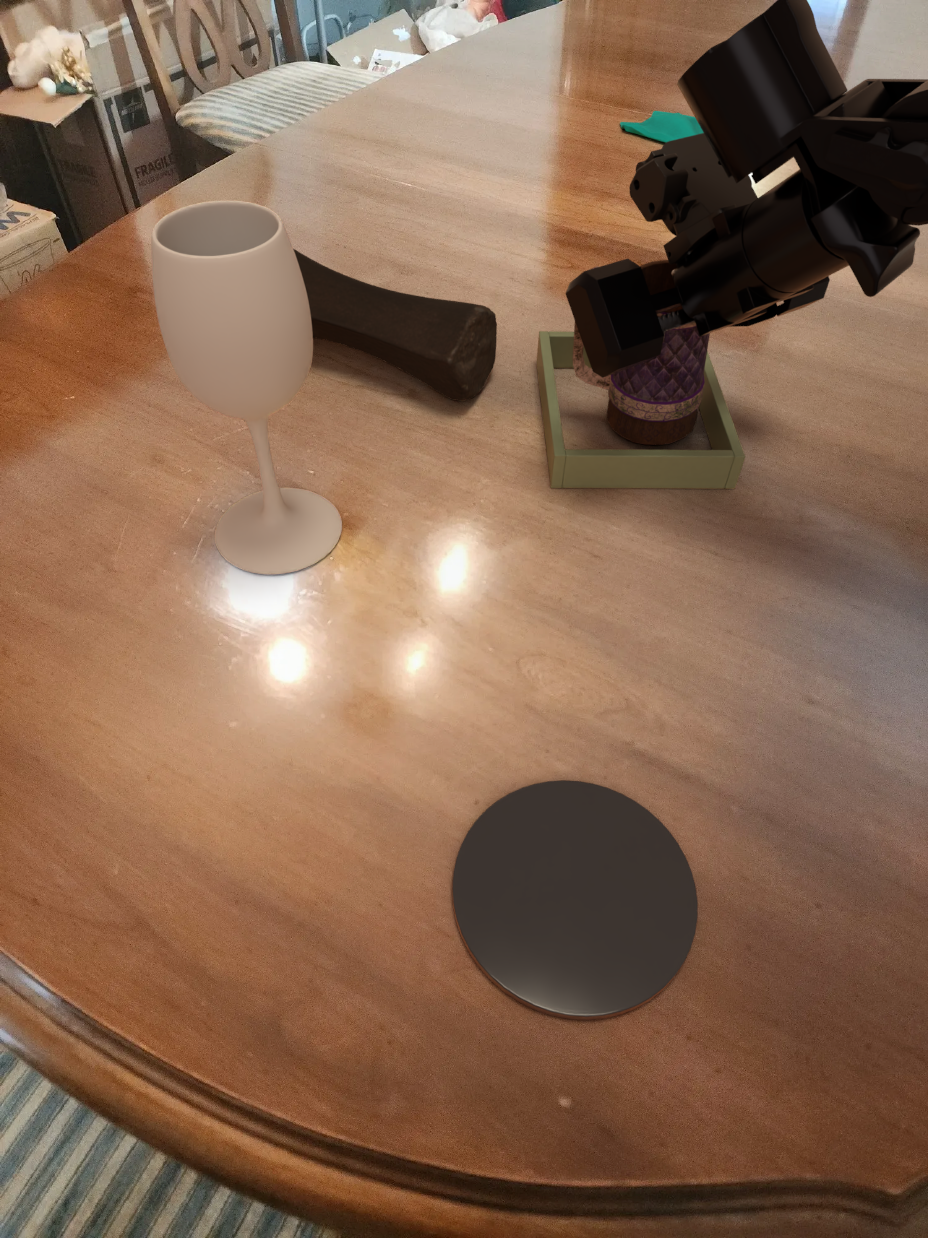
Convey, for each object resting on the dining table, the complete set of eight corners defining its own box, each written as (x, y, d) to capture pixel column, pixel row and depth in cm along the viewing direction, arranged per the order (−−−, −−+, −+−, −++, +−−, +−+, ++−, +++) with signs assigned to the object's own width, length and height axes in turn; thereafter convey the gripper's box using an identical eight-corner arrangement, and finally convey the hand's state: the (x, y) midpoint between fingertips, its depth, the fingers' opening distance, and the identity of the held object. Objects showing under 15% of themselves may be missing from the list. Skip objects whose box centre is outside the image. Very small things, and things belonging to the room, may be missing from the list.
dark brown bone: (188, 345, 78) (464, 456, 73) (134, 276, 68) (451, 399, 63) (243, 247, 80) (516, 349, 75) (199, 165, 70) (512, 277, 65)
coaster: (673, 785, 46) (675, 779, 46) (718, 1020, 38) (721, 1016, 38) (452, 785, 46) (452, 779, 46) (451, 1021, 38) (452, 1017, 38)
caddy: (693, 363, 74) (701, 332, 71) (735, 489, 63) (746, 456, 60) (536, 362, 73) (538, 330, 71) (550, 488, 62) (554, 455, 60)
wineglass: (345, 489, 62) (310, 190, 46) (338, 575, 56) (295, 267, 41) (225, 490, 62) (148, 190, 46) (205, 577, 56) (110, 268, 40)
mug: (702, 401, 68) (731, 255, 59) (689, 455, 64) (719, 307, 55) (577, 383, 71) (587, 240, 62) (557, 434, 66) (564, 289, 57)
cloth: (613, 147, 105) (615, 127, 103) (624, 108, 114) (626, 89, 112) (831, 169, 102) (837, 148, 100) (824, 127, 111) (830, 107, 109)
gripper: (855, 75, 51) (695, 198, 66) (603, 132, 45) (488, 254, 59) (909, 257, 52) (740, 338, 67) (672, 338, 46) (543, 408, 61)
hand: (633, 331), depth 63 cm, fingers closed on mug, 7 cm apart
